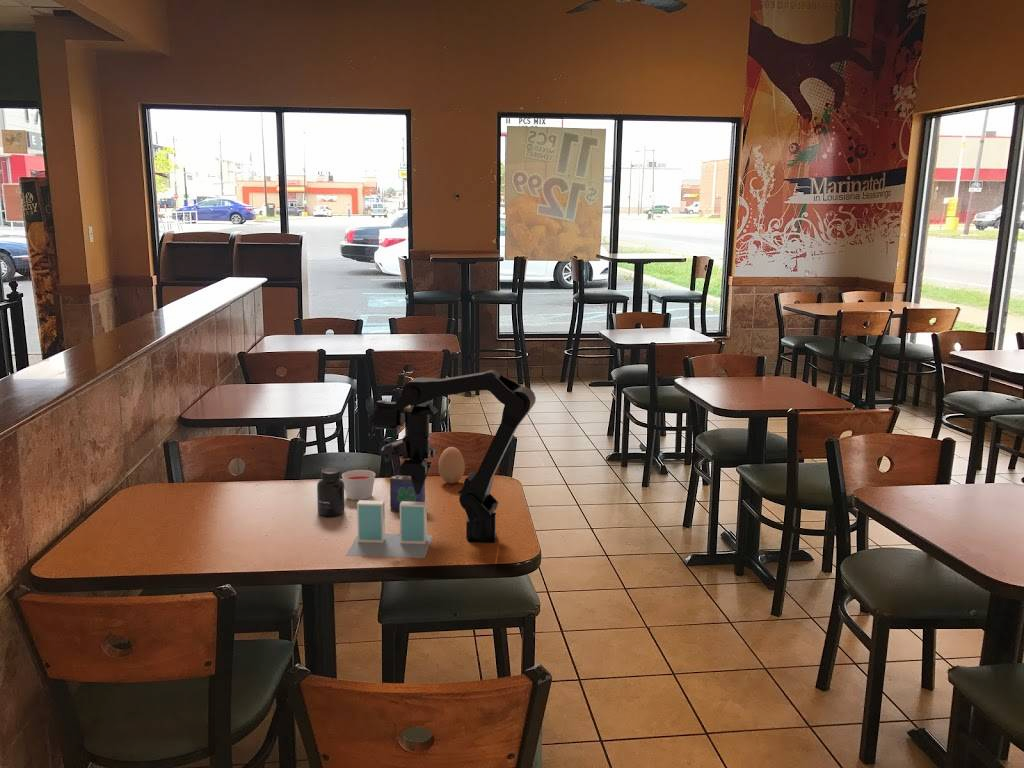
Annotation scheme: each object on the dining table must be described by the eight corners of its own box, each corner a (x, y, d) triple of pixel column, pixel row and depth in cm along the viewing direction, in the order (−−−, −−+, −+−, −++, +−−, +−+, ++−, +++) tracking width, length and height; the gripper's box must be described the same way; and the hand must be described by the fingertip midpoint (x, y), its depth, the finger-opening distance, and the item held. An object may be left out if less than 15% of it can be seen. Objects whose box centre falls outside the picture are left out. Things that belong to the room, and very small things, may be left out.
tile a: (426, 540, 206) (426, 502, 204) (425, 544, 203) (425, 505, 201) (401, 539, 206) (401, 501, 204) (400, 543, 204) (399, 504, 202)
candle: (338, 494, 240) (338, 472, 239) (370, 490, 244) (370, 468, 242) (347, 503, 232) (346, 481, 231) (379, 499, 236) (379, 477, 234)
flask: (426, 509, 229) (425, 470, 227) (424, 512, 226) (423, 473, 224) (391, 508, 229) (390, 469, 227) (389, 512, 226) (388, 472, 224)
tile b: (385, 538, 206) (384, 500, 204) (383, 542, 204) (382, 504, 202) (360, 538, 206) (359, 500, 204) (357, 542, 204) (356, 503, 202)
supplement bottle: (318, 520, 219) (317, 475, 217) (317, 511, 226) (315, 467, 223) (345, 518, 221) (344, 473, 219) (343, 509, 227) (342, 465, 225)
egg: (454, 477, 256) (454, 442, 254) (469, 484, 250) (470, 447, 248) (433, 482, 251) (433, 446, 249) (448, 489, 245) (448, 452, 243)
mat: (432, 537, 209) (432, 535, 209) (424, 559, 195) (424, 557, 195) (358, 535, 210) (358, 533, 210) (345, 557, 196) (345, 555, 196)
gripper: (390, 421, 216) (391, 481, 219) (376, 440, 198) (377, 505, 201) (434, 422, 216) (435, 482, 219) (424, 441, 197) (425, 506, 200)
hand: (417, 493), depth 210 cm, fingers closed
